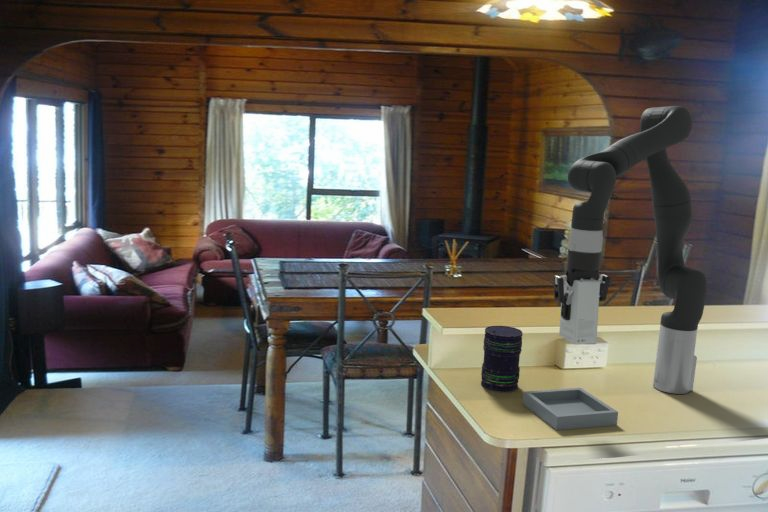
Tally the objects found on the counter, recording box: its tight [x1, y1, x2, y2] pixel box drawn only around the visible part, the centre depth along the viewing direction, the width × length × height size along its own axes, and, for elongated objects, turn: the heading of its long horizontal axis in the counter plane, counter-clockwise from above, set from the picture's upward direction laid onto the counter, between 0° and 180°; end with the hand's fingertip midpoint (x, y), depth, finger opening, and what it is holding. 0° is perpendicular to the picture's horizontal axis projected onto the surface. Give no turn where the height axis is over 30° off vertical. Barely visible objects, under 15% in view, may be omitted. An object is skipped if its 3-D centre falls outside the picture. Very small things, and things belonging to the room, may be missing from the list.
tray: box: [522, 387, 619, 431], centre depth 177 cm, size 16×16×3 cm
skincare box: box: [558, 279, 600, 345], centre depth 173 cm, size 8×6×15 cm
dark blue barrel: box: [480, 325, 524, 393], centre depth 194 cm, size 10×10×15 cm
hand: (578, 318), depth 173 cm, fingers closed on skincare box, 6 cm apart
